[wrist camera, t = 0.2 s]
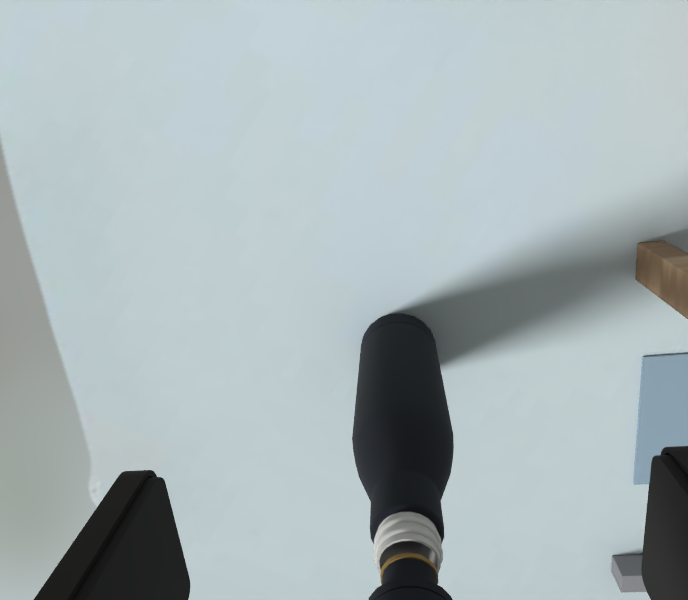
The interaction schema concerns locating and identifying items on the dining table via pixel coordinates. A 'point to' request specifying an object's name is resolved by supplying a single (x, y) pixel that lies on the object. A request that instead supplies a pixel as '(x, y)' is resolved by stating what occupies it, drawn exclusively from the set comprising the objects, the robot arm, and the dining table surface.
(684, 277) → the bridge
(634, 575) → the stopper
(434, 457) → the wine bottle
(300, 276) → the dining table surface
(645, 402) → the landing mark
